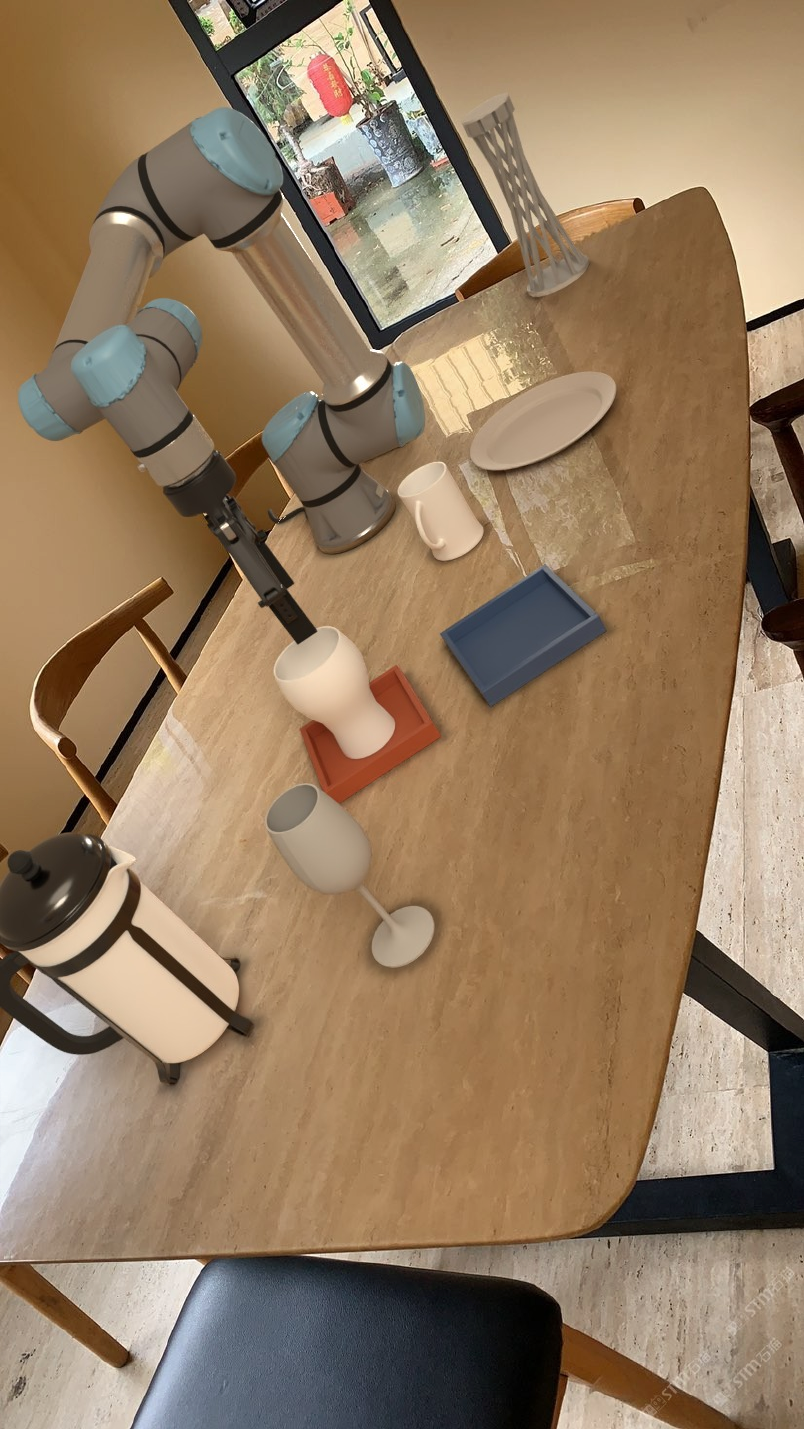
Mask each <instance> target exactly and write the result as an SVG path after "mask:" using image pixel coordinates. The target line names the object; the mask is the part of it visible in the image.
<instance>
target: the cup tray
mask: <svg viewBox="0 0 804 1429" xmlns="http://www.w3.org/2000/svg"><path fill="white" fill-rule="evenodd" d="M369 687H370V690H371V692H372V694H373V696H374V698H375V700H376V702H377V703H378V704H379V705H381V706H382V707H383V708H384V709H385V710H386V711H387V712H388V713H389V714H390V715H391V716H392V717H393V718H394V721H395V730H394V732H393V735H392V736H391V738H390V739H389V741H388V742H387V743H386V744H385V745H384V746H383V747H382V748H381V749H379V750H378V751H377V752H375V753H373V754H372V755H370V756H367V757H365V758H360V759H351V758H348V757H346V755H345V754H344V753H343V751H342V750H341V748H340V746H339V744H338V742H337V740H336V738H335V736H334V734H333V733H332V732H331V731H330V730H329V729H328V728H327V727H326V726H325V725H324V724H323V723H320V722H317V721H315V720H312V719H311V721H309V722H307V723H306V724H305V725H303V726H302V727H300V728H299V731H300V735H301V737H302V740H303V742H304V744H305V747H306V750H307V753H308V755H309V758H310V760H311V763H312V766H313V769H314V771H315V774H316V777H317V779H318V782H319V784H320V787H321V790H322V791H323V792H325V793H326V794H327V795H328V796H330V797H331V798H332V799H333V800H335V801H336V802H337V803H338V804H339V805H340V804H341V803H343V802H344V801H345V800H347V799H349V798H350V797H351V796H353V795H354V794H356V793H357V792H359V791H361V790H362V789H364V788H365V787H367V786H368V785H370V784H371V783H373V782H374V781H376V780H378V779H379V778H380V777H382V776H383V775H385V774H387V773H388V772H389V771H391V770H392V769H394V768H396V767H397V766H399V765H401V764H402V763H403V762H405V761H407V760H408V759H409V758H412V757H413V756H414V755H416V754H417V753H418V752H420V751H421V750H424V749H425V748H426V747H427V746H429V745H431V744H433V743H434V742H435V741H437V740H438V739H440V738H442V735H441V733H440V731H439V729H437V727H436V725H435V723H434V722H433V720H432V718H431V716H430V715H429V713H428V712H427V709H426V708H425V706H424V704H423V703H422V701H421V700H420V698H419V696H418V695H417V693H416V691H415V690H414V688H413V686H412V684H411V683H410V681H409V680H408V678H407V676H406V675H405V673H404V672H403V671H402V669H401V668H400V666H399V665H398V664H395V665H394V666H392V667H391V668H389V669H388V670H385V672H383V673H381V674H380V675H378V676H377V677H375V678H374V679H373V680H371V681H369Z"/></svg>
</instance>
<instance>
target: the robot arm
mask: <svg viewBox="0 0 804 1429" xmlns="http://www.w3.org/2000/svg"><path fill="white" fill-rule="evenodd" d="M283 183H284V174H283V169H282V166H281V163H280V161H279V160H278V159H277V157H276V152H275V150H274V149H273V147H272V145H271V143H270V142H269V140H268V139H267V137H266V136H265V135H264V133H263V132H262V131H261V130H260V128H259V127H258V126H257V125H256V124H255V123H254V122H253V121H252V120H251V119H250V118H248V116H246V115H245V114H244V113H242V112H240V111H239V110H236V109H234V108H231V107H229V106H221V107H217V108H215V109H213V110H211V111H210V112H208V113H206V114H205V115H203V116H199V117H196V118H194V119H193V120H192V121H191V122H189V123H187V124H186V125H185V126H183V127H181V128H180V129H179V130H178V131H176V132H174V133H173V134H171V135H170V136H168V137H167V138H166V139H164V140H163V141H162V142H160V143H158V144H157V145H155V146H154V147H153V148H151V149H150V150H148V151H146V153H143V154H141V155H139V157H137V158H135V159H134V160H133V161H131V162H130V164H128V165H127V166H126V167H125V169H124V170H123V171H122V173H120V175H119V176H118V178H117V179H116V180H115V182H114V183H113V184H112V186H111V187H110V190H109V191H108V192H107V194H106V196H105V198H104V199H103V201H102V204H101V205H100V207H99V209H98V211H97V213H96V215H95V218H94V220H93V222H92V225H91V228H90V231H89V236H88V242H89V243H88V244H89V249H90V254H89V257H88V259H87V262H86V265H85V267H84V269H83V272H82V274H81V277H80V280H79V282H78V285H77V287H76V290H75V293H74V295H73V298H72V301H71V304H70V306H69V309H68V311H67V314H66V316H65V319H64V321H63V323H62V327H61V329H60V331H59V335H58V337H57V339H56V342H55V345H54V348H53V350H52V352H51V355H50V357H49V359H48V361H47V364H46V367H45V368H43V370H42V371H40V372H36V373H34V374H32V375H31V377H30V378H29V379H27V380H26V381H24V382H23V383H22V384H21V385H20V386H19V388H18V392H17V403H18V408H19V412H20V413H21V415H22V418H23V419H24V420H25V423H26V424H27V425H28V426H29V427H30V428H31V429H32V430H34V432H35V433H36V434H37V435H38V436H40V437H41V438H43V439H45V440H47V441H51V442H61V441H63V440H65V439H68V438H70V437H73V436H75V435H80V434H82V433H83V432H84V431H86V430H87V429H89V428H91V427H93V426H94V425H96V424H98V423H100V422H102V421H103V420H106V421H107V422H108V423H109V425H110V426H111V427H112V428H113V429H114V431H115V432H116V434H117V435H118V436H119V437H120V438H121V439H122V441H123V442H124V444H126V446H127V447H128V448H129V451H130V452H131V453H132V454H133V456H135V458H136V459H137V461H138V462H139V463H138V464H137V466H136V467H137V470H138V472H139V473H144V472H146V471H148V475H149V476H150V477H151V478H152V480H153V481H154V483H155V484H156V485H157V486H158V487H162V492H163V495H164V496H165V497H166V499H167V500H168V501H169V502H170V504H171V505H172V507H173V508H174V509H175V510H176V512H177V513H178V514H179V515H180V516H181V517H183V518H193V517H197V516H198V515H202V514H203V515H204V514H205V515H204V516H203V517H204V519H205V521H206V522H207V523H206V526H207V527H208V530H210V532H211V533H212V535H214V536H215V537H216V538H217V539H218V540H219V542H220V543H221V545H222V547H223V548H224V549H225V551H226V552H227V553H228V554H229V555H230V557H231V558H232V560H234V562H235V564H236V565H237V567H238V568H239V569H240V571H241V572H242V574H243V575H244V576H245V578H246V580H247V581H248V582H249V584H250V586H251V587H252V588H253V590H254V591H255V593H256V594H257V596H258V597H259V598H260V601H258V602H257V605H258V606H259V607H260V609H263V608H264V607H266V608H269V610H270V611H271V612H272V613H273V615H274V616H275V617H276V619H277V620H278V621H279V623H280V624H281V625H282V626H283V628H284V629H285V631H286V632H287V633H288V634H289V635H290V637H291V638H292V639H293V641H295V642H296V643H297V645H298V644H300V643H301V642H303V641H304V640H306V639H307V638H309V637H310V636H312V635H313V634H315V633H316V632H317V629H316V628H317V627H316V626H315V625H314V624H313V622H312V621H311V619H310V618H309V617H308V615H306V613H305V611H304V610H303V609H302V607H301V606H300V605H299V604H298V602H297V601H296V599H295V598H294V597H293V595H292V594H291V593H290V591H289V590H288V589H289V588H291V587H292V586H293V585H295V582H294V580H293V579H292V578H291V576H290V574H289V573H288V572H287V570H286V569H285V567H284V566H283V565H282V564H281V562H280V561H279V560H278V558H277V557H276V555H275V553H273V551H272V550H271V549H270V547H269V546H268V544H267V543H266V542H265V540H266V539H267V538H268V535H267V534H266V532H265V531H264V529H263V528H261V529H260V530H259V531H257V526H256V525H255V524H253V523H252V521H250V519H249V518H248V517H247V515H246V514H245V512H244V511H243V509H242V507H241V506H240V504H239V501H238V500H237V499H236V498H235V496H230V495H229V494H230V493H231V491H233V489H234V487H235V484H236V482H237V474H236V473H235V471H234V469H233V468H232V467H231V465H230V464H229V463H228V462H227V460H226V458H225V457H224V456H223V454H222V453H221V452H220V451H219V450H216V449H215V442H214V441H213V439H212V438H211V437H210V435H209V434H208V432H207V431H206V429H205V428H204V426H202V424H201V422H199V420H198V418H197V417H196V415H195V414H194V413H192V412H191V409H189V407H188V406H187V405H186V403H185V402H184V401H183V399H182V397H181V396H180V395H179V393H178V390H179V388H180V386H181V384H182V382H183V381H184V379H185V378H186V377H187V375H188V373H189V372H190V370H191V369H192V368H193V367H194V364H196V363H197V360H198V356H199V352H200V351H201V347H202V344H203V330H202V326H201V323H200V321H199V319H198V317H197V315H196V314H194V312H193V311H192V310H191V309H190V308H189V307H188V306H187V305H185V304H184V303H182V302H180V301H178V300H175V299H172V298H167V297H161V298H156V299H152V300H150V301H148V302H147V303H146V304H145V305H144V306H143V307H142V308H140V306H141V302H142V300H143V296H144V293H145V290H146V287H147V285H148V284H147V283H148V281H149V279H151V278H152V277H154V276H155V275H156V274H157V273H158V272H159V271H160V269H161V267H162V264H163V260H164V259H165V258H166V257H168V256H169V255H170V254H172V253H173V252H175V251H176V250H177V249H179V248H180V247H182V246H185V245H186V244H187V243H189V242H191V241H194V239H197V238H199V237H200V236H203V235H205V236H206V238H207V239H208V240H209V242H210V243H211V245H212V246H213V247H214V249H215V250H217V251H222V252H228V253H231V254H232V255H233V257H234V259H236V261H237V263H238V264H239V265H240V266H241V268H242V269H243V271H244V272H245V274H246V275H247V276H248V278H249V279H250V281H251V282H252V283H253V285H254V286H255V288H256V289H257V291H258V292H259V293H260V295H261V296H262V297H263V299H264V301H265V302H266V303H267V305H268V306H269V307H270V309H271V310H272V312H273V313H274V315H275V316H276V317H277V319H278V320H279V322H280V324H282V326H283V328H284V329H285V330H286V332H287V333H288V335H289V336H290V337H291V339H292V340H293V342H294V343H295V345H296V346H297V347H298V348H299V350H300V352H301V353H302V355H303V356H304V358H305V359H306V360H307V362H308V364H310V366H311V367H312V369H313V370H314V371H315V373H316V375H317V376H318V378H320V380H321V381H322V383H323V386H322V391H321V397H322V398H321V399H320V397H319V395H318V394H317V393H315V392H314V391H305V392H303V393H300V394H299V395H297V396H295V397H294V398H293V399H291V400H290V401H289V402H288V403H286V404H285V405H284V406H283V407H281V408H280V409H278V411H277V412H276V413H275V414H274V415H273V416H272V418H270V420H269V421H268V422H267V424H266V425H265V427H264V429H263V431H262V434H261V443H262V446H263V447H264V449H265V451H266V453H267V454H268V455H269V458H270V461H271V462H272V463H273V464H274V465H275V467H276V468H277V470H278V471H279V473H280V474H281V476H282V477H283V478H284V480H285V482H286V484H288V486H289V487H290V489H291V490H292V492H293V493H294V494H295V496H296V498H298V500H299V502H300V503H301V505H302V506H299V507H298V508H296V509H293V510H292V511H291V512H289V513H287V514H286V515H285V516H286V517H285V518H284V516H282V517H276V516H275V514H274V511H273V509H272V508H269V509H268V510H267V514H268V518H269V519H270V520H271V521H272V522H273V523H274V524H283V523H285V522H287V521H290V520H291V519H293V518H294V517H296V516H297V515H299V514H301V513H304V517H305V519H307V520H308V523H309V527H310V531H311V535H312V537H313V541H314V543H315V544H316V546H317V547H318V548H319V550H320V551H321V552H322V553H324V554H328V555H335V554H341V553H345V552H347V551H350V550H352V549H355V548H356V547H358V546H360V545H362V544H364V543H365V542H367V541H368V540H370V539H371V538H373V537H374V536H375V535H376V534H378V533H379V532H380V531H381V530H382V529H383V528H384V527H385V526H386V525H387V524H388V522H389V521H390V520H391V518H392V516H393V515H394V513H395V510H396V501H395V500H394V498H393V496H392V495H391V493H390V491H389V490H388V489H387V488H386V487H384V486H383V485H382V484H380V483H379V482H378V481H377V480H376V479H374V478H373V477H372V476H371V475H369V474H368V473H367V472H366V471H364V469H362V468H363V467H362V466H361V464H363V463H365V462H368V461H370V460H372V459H375V458H376V457H379V456H382V455H383V454H386V453H389V452H391V451H393V450H395V449H398V448H399V447H400V448H403V447H404V446H405V445H406V444H408V443H410V442H412V441H414V440H416V439H418V438H419V437H420V436H422V434H423V432H424V430H425V428H426V427H425V426H426V411H425V405H424V401H423V397H422V393H421V389H420V386H419V384H418V381H417V378H416V377H415V374H414V372H413V371H412V369H411V367H410V366H409V365H408V364H407V363H406V362H404V361H396V362H394V364H392V363H391V361H390V360H389V358H388V356H386V354H385V353H384V352H383V351H381V350H376V349H370V348H369V346H368V345H367V343H366V341H365V339H363V337H362V335H361V333H360V332H359V330H358V329H357V328H356V326H355V324H354V323H353V321H352V320H351V318H350V317H349V315H348V313H347V312H346V310H345V309H344V308H343V305H342V304H341V303H340V301H339V300H338V298H337V297H336V295H335V294H334V292H333V291H332V289H331V287H330V286H329V285H328V283H327V281H326V280H325V278H324V277H323V275H322V274H321V272H320V270H319V269H318V268H317V266H316V264H315V263H314V261H313V260H312V258H311V257H310V255H309V254H308V252H307V251H306V249H305V247H304V246H303V245H302V243H301V241H300V240H299V238H298V237H297V235H296V234H295V232H294V230H293V229H292V227H291V226H290V224H289V222H288V221H287V219H286V218H285V217H284V215H283V213H282V212H283V208H284V207H283V206H284V200H285V197H284V195H283V192H282V191H281V190H280V189H281V187H282V186H283ZM139 308H140V309H139ZM280 518H282V519H281V520H280ZM283 518H284V519H283ZM279 520H280V521H279ZM278 522H279V523H278Z"/></svg>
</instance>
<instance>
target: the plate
mask: <svg viewBox="0 0 804 1429" xmlns="http://www.w3.org/2000/svg"><path fill="white" fill-rule="evenodd" d="M616 394H617V384H616V382H615V380H614V378H612V377H611V376H610V375H608V374H606V373H604V372H600V371H579V372H573V373H569V374H565V375H561V376H559V377H556V378H552V379H550V380H548V381H545V382H542V383H541V384H539V385H536V386H534V387H532V388H530V389H529V390H527V391H525V392H523V393H521V394H519V395H518V396H516V397H515V398H513V399H511V401H509V402H508V403H506V404H504V405H503V406H502V407H501V408H500V409H498V410H497V411H496V412H495V413H494V414H493V415H492V416H490V417H489V418H488V419H487V420H486V422H485V423H484V424H483V425H482V426H481V427H480V429H479V430H478V431H477V433H476V434H475V436H474V438H473V439H472V441H471V444H470V448H469V457H470V460H471V461H472V463H473V465H475V466H476V467H478V468H480V469H483V470H489V471H505V470H511V469H517V468H520V467H524V466H530V465H533V464H536V463H538V462H542V461H544V460H546V459H549V458H551V457H553V456H555V455H557V454H559V453H561V452H563V451H564V450H566V449H567V448H569V447H570V446H572V445H573V444H575V443H576V442H577V441H578V440H580V439H581V438H582V437H584V436H585V435H586V433H588V432H589V431H590V430H591V429H592V428H593V427H594V426H595V425H596V424H597V423H599V421H600V420H602V418H603V417H604V416H605V415H606V413H607V412H608V411H609V409H610V408H611V406H612V405H613V402H614V400H615V398H616Z"/></svg>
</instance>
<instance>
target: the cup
mask: <svg viewBox="0 0 804 1429" xmlns="http://www.w3.org/2000/svg"><path fill="white" fill-rule="evenodd" d="M315 628H316V629H317V632H316V633H315V634H313V635H312V636H310V637H309V638H307V639H306V640H304V641H303V642H301V643H300V644H298V645H297V643H296V642H295V641H294V640H292V641H291V642H289V643H288V645H287V646H286V647H285V648H284V649H283V650H282V652H281V653H280V654H279V655H278V657H277V659H275V662H274V665H273V670H272V671H273V677H274V679H275V681H276V684H277V686H278V688H279V690H280V693H281V694H282V696H283V697H284V698H285V699H286V701H287V702H288V703H289V704H290V705H291V708H293V709H294V710H295V711H297V712H298V713H299V714H301V715H303V716H304V717H306V718H307V719H310V720H311V721H312V720H315V721H317V722H320V723H323V724H324V725H325V726H326V727H327V728H328V729H329V730H330V731H331V732H332V733H333V734H334V736H335V738H336V740H337V742H338V744H339V746H340V748H341V750H342V751H343V753H344V754H345V755H346V757H348V758H351V759H360V758H365V757H367V756H370V755H372V754H373V753H375V752H377V751H378V750H379V749H381V748H382V747H383V746H384V745H385V744H386V743H387V742H388V741H389V739H390V738H391V736H392V735H393V732H394V730H395V721H394V718H393V717H392V716H391V715H390V714H389V713H388V712H387V711H386V710H385V709H384V708H383V707H382V706H381V705H379V704H378V703H377V702H376V700H375V698H374V696H373V694H372V692H371V690H370V687H369V683H370V677H369V676H370V675H369V672H368V669H367V666H366V663H365V660H364V657H363V653H362V652H361V651H360V650H359V648H358V647H357V645H356V644H355V643H354V642H353V641H352V640H351V639H350V638H349V637H347V636H346V635H345V634H344V633H342V631H340V630H339V629H338V628H337V627H334V626H331V625H323V626H319V627H318V626H317V627H315Z"/></svg>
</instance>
